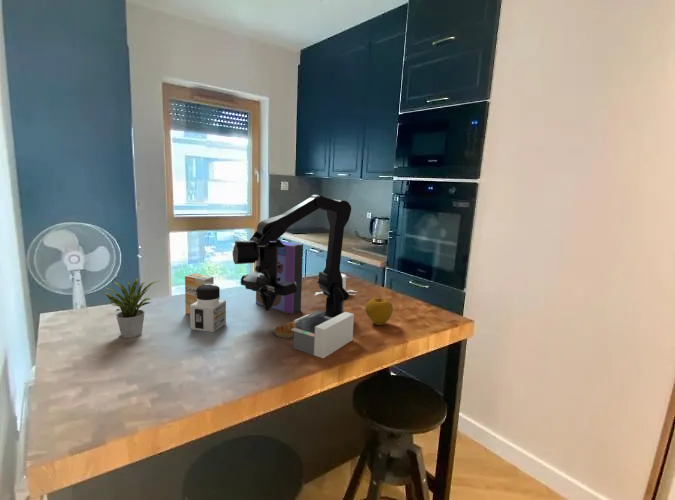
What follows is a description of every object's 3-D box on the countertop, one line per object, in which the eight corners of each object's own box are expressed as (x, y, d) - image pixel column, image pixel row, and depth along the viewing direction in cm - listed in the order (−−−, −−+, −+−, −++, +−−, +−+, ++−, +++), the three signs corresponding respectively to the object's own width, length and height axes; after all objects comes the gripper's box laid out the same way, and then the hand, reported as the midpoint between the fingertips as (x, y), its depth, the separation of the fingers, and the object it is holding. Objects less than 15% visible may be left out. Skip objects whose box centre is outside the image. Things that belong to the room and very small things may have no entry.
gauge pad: (318, 331, 114) (319, 307, 113) (323, 333, 113) (324, 309, 112) (291, 345, 103) (291, 319, 102) (296, 347, 102) (297, 321, 101)
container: (213, 332, 111) (213, 290, 108) (190, 329, 112) (189, 287, 110) (226, 323, 118) (226, 283, 116) (204, 320, 120) (203, 281, 117)
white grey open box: (322, 330, 116) (323, 305, 114) (352, 339, 110) (354, 314, 109) (290, 347, 103) (291, 319, 102) (323, 358, 98) (324, 329, 96)
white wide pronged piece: (367, 294, 157) (369, 275, 156) (337, 304, 143) (338, 284, 141) (332, 284, 170) (333, 267, 168) (301, 292, 155) (302, 273, 154)
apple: (358, 323, 123) (360, 297, 122) (375, 316, 130) (377, 292, 128) (381, 331, 117) (382, 304, 116) (397, 324, 124) (399, 298, 122)
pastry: (276, 340, 108) (276, 328, 107) (272, 331, 114) (272, 319, 113) (308, 337, 111) (308, 325, 110) (302, 328, 117) (302, 317, 117)
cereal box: (255, 303, 138) (256, 239, 134) (265, 300, 142) (265, 238, 138) (292, 314, 129) (293, 245, 124) (300, 310, 133) (302, 244, 128)
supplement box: (184, 313, 124) (183, 275, 122) (195, 309, 129) (194, 272, 126) (204, 318, 121) (203, 279, 119) (214, 313, 126) (214, 276, 123)
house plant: (153, 319, 118) (151, 269, 115) (170, 333, 108) (168, 279, 105) (101, 330, 108) (97, 276, 105) (114, 347, 98) (111, 287, 96)
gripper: (226, 261, 113) (227, 310, 116) (272, 271, 103) (272, 325, 106) (253, 256, 122) (253, 301, 125) (298, 265, 112) (297, 314, 115)
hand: (267, 310), depth 117 cm, fingers closed
